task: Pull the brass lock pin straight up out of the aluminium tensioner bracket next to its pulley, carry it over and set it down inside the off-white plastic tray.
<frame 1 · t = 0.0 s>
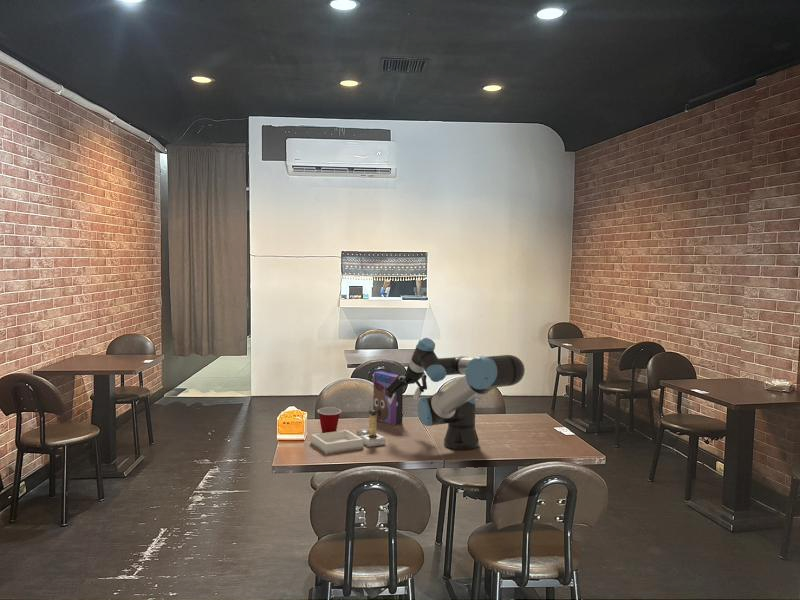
hand: (402, 400, 285), 15 cm above the table, tool tilted 35°, fingers open, 13 cm apart
plastic cup: (329, 436, 280), on the table
tray: (336, 445, 264), on the table
tensioner bracket: (368, 441, 272), on the table
lock pin: (372, 443, 268), resting in tensioner bracket
cereal box: (387, 421, 309), on the table
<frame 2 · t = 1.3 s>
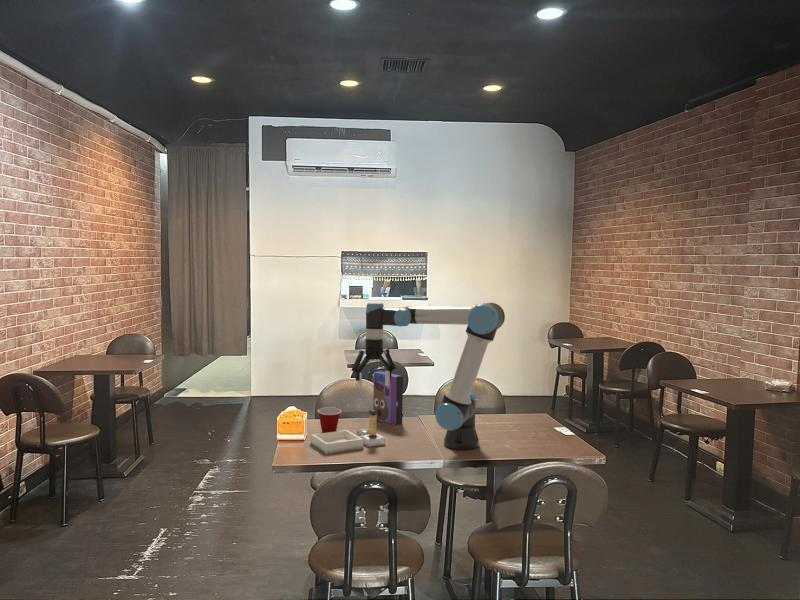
hand: (373, 386, 268), 25 cm above the table, tool pointing down, fingers open, 13 cm apart
nothing on the table moved.
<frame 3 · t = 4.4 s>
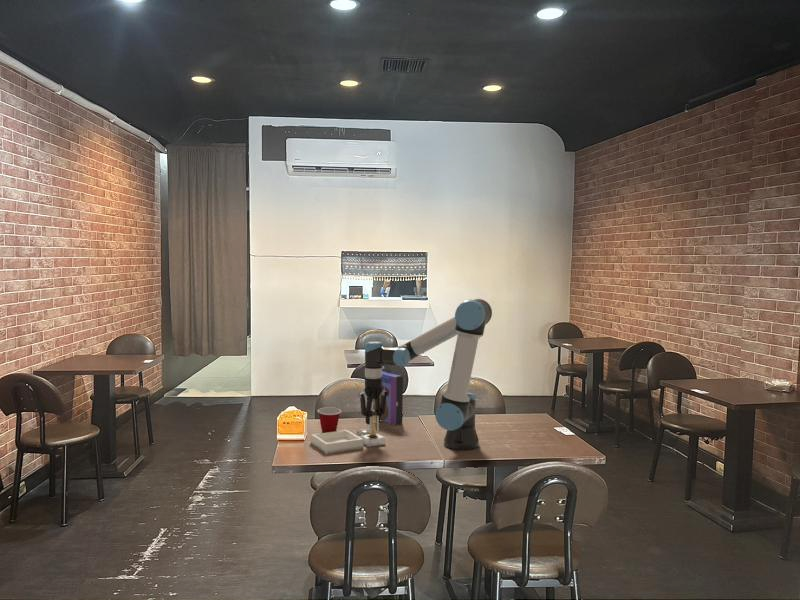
hand: (373, 430, 268), 6 cm above the table, tool pointing down, fingers closed on lock pin, 3 cm apart
lock pin: (372, 443, 268), resting in tensioner bracket, touching gripper
everything else where it was.
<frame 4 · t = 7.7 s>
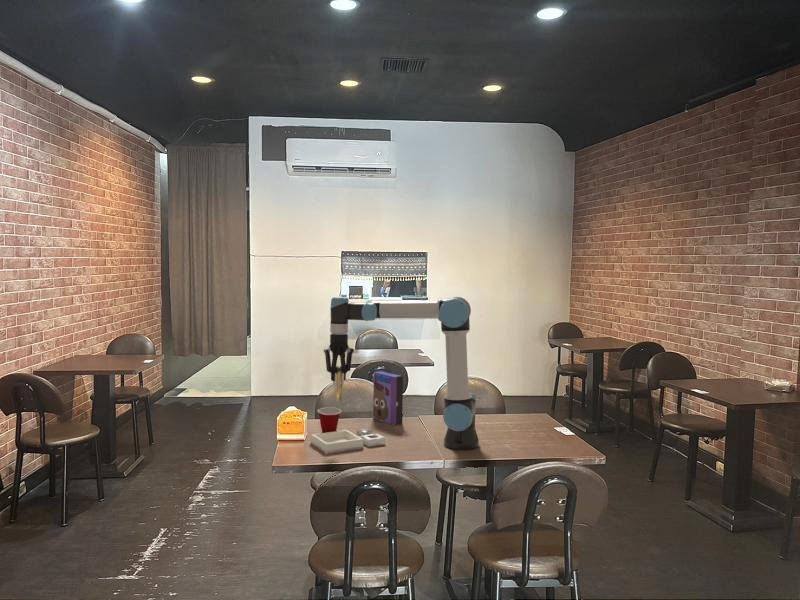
hand: (338, 388, 263), 25 cm above the table, tool pointing down, fingers closed on lock pin, 2 cm apart
lock pin: (337, 400, 263), point 20 cm above the table, touching gripper
everything else where it was.
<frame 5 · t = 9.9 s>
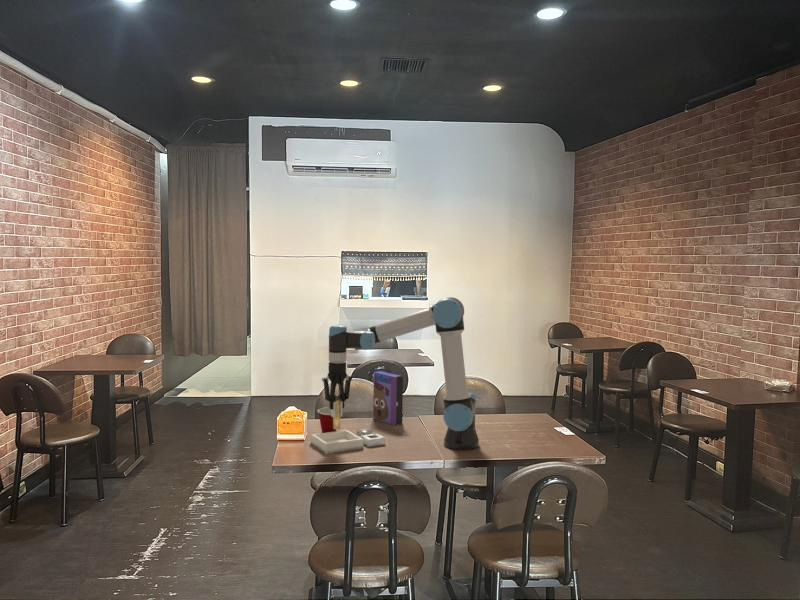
hand: (336, 416, 263), 13 cm above the table, tool pointing down, fingers closed on lock pin, 2 cm apart
lock pin: (336, 428, 263), point 8 cm above the table, touching gripper
everything else where it was.
when the fingers open (8 cm above the table, at t = 11.5 s): lock pin drops 2 cm, resting on tray.
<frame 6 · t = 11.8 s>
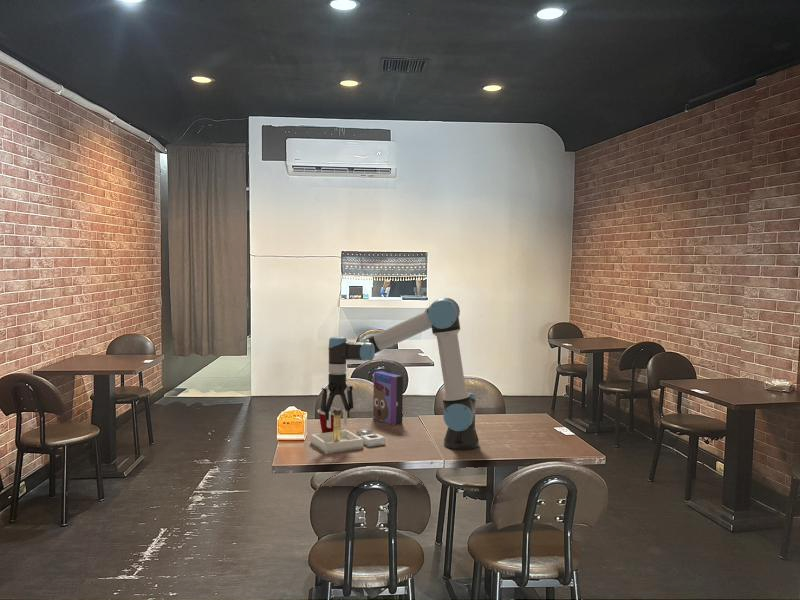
hand: (337, 426, 263), 9 cm above the table, tool pointing down, fingers open, 7 cm apart
lock pin: (336, 443, 264), point 1 cm above the table, touching tray
everything else where it was.
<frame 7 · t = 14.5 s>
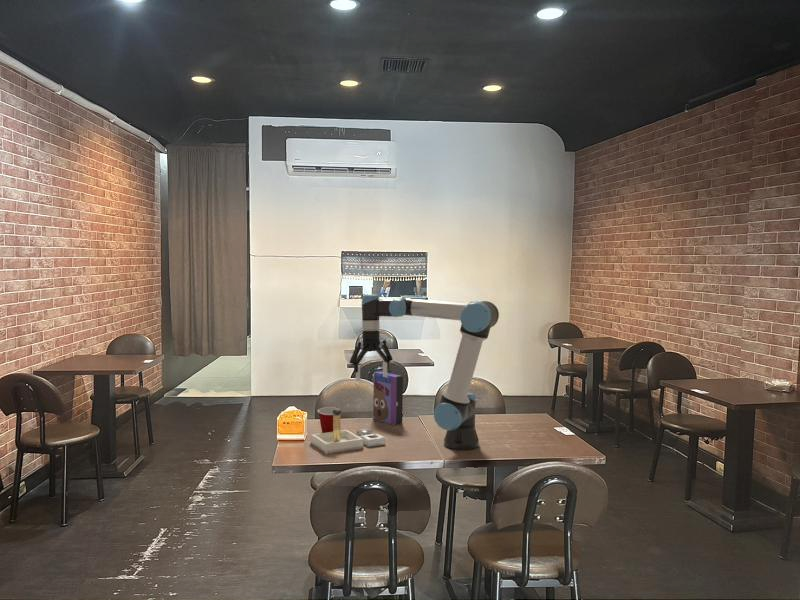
hand: (371, 378, 269), 28 cm above the table, tool pointing down, fingers open, 13 cm apart
nothing on the table moved.
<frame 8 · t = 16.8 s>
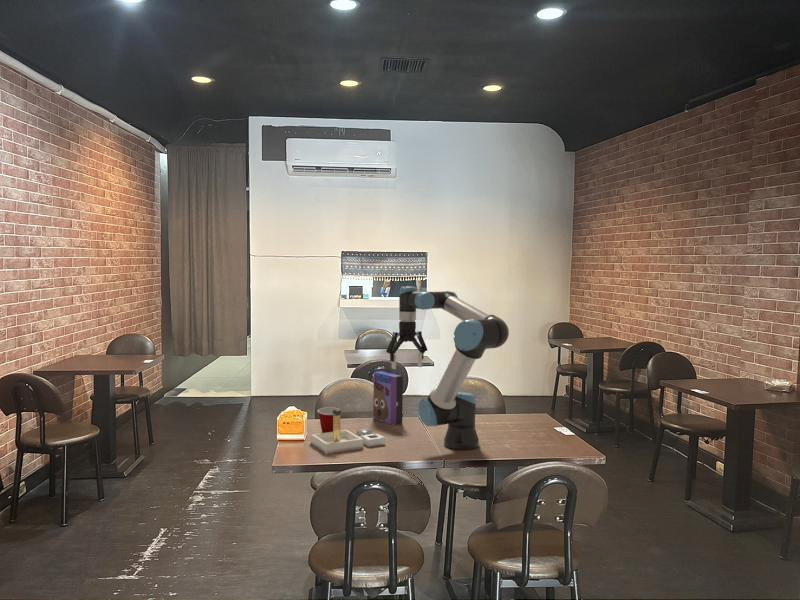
hand: (406, 367, 278), 32 cm above the table, tool pointing down, fingers open, 13 cm apart
nothing on the table moved.
at the end: lock pin inside the target area on the tray (0.1 cm from its centre), point 1.0 cm above the tray's base; the gripper is holding nothing; lock pin moved 16.0 cm from its start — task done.
